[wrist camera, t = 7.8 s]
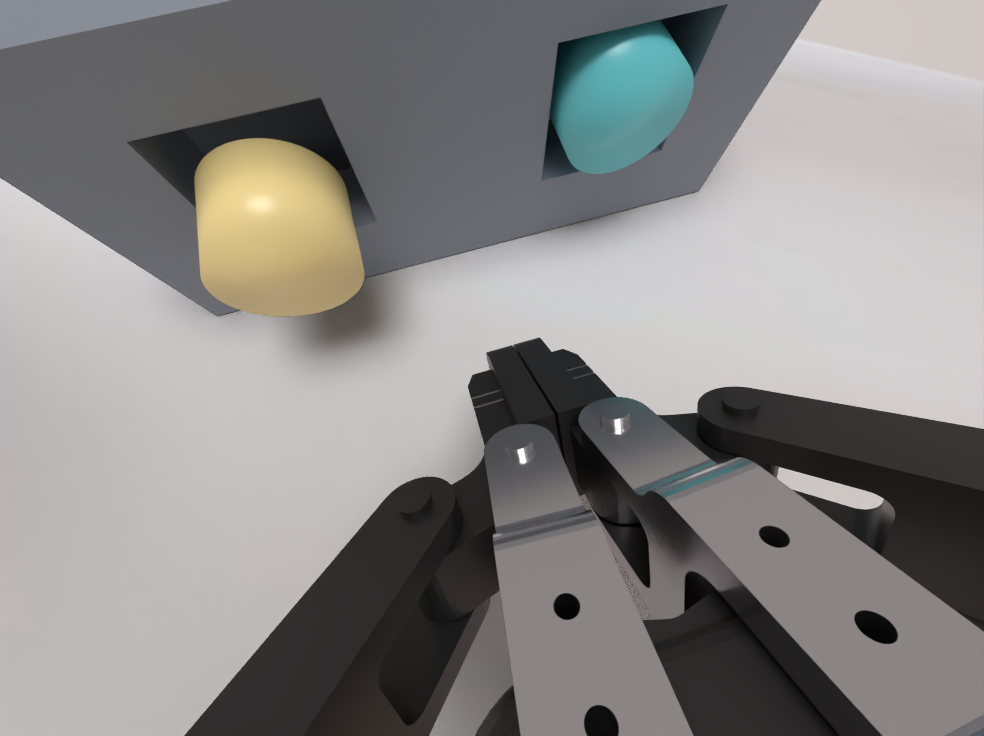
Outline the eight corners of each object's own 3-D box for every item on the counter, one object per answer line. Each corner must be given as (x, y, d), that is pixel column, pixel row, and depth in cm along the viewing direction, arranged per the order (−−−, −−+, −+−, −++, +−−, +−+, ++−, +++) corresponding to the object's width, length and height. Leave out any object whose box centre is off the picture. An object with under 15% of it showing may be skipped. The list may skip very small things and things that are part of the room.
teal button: (663, 158, 16) (719, 38, 12) (557, 185, 16) (578, 71, 12) (632, 101, 17) (675, -28, 13) (532, 125, 17) (543, 1, 12)
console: (699, 190, 20) (913, -145, 10) (217, 316, 19) (-153, 80, 8) (637, 79, 22) (754, -284, 12) (206, 182, 21) (-86, -131, 11)
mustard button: (381, 296, 14) (331, 213, 10) (259, 328, 14) (156, 256, 10) (365, 224, 15) (314, 122, 11) (250, 253, 15) (154, 159, 11)
